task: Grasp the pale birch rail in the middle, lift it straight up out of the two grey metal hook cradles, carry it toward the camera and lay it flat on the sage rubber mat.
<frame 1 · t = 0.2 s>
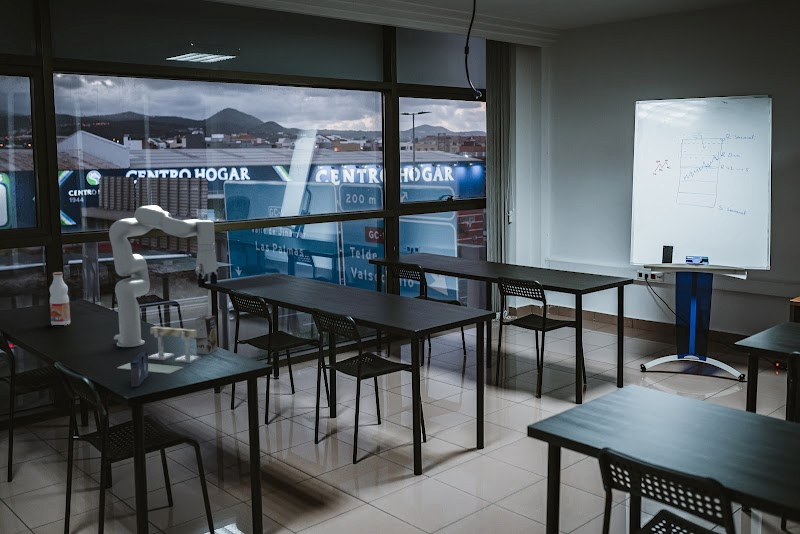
hand: (207, 285, 360), 31 cm above the table, fingers open, 9 cm apart
standard left: (161, 357, 356), on the table
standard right: (188, 359, 351), on the table
birch rail: (173, 335, 352), point 10 cm above the table, touching standard left, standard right
fruit juice: (60, 324, 427), on the table
coffee box: (207, 352, 366), on the table
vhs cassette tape: (140, 381, 319), on the table
sage mat: (150, 368, 338), on the table
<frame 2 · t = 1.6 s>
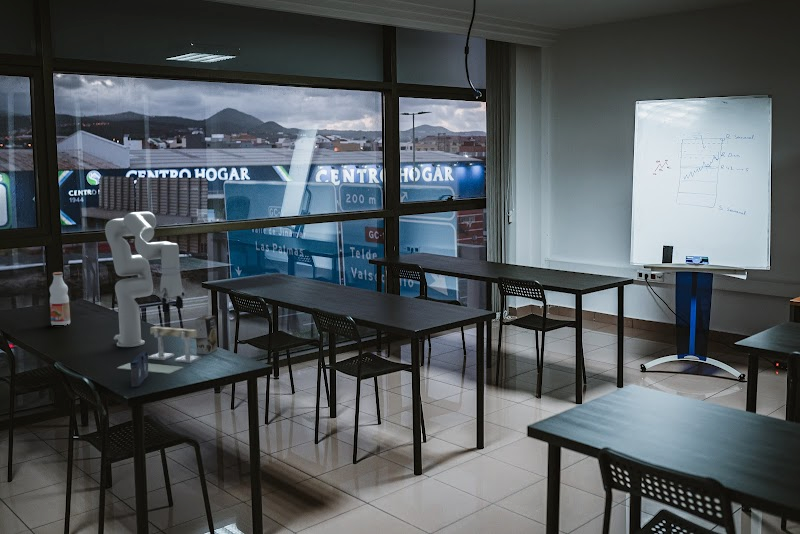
hand: (172, 310, 350), 22 cm above the table, fingers open, 9 cm apart
nothing on the table moved.
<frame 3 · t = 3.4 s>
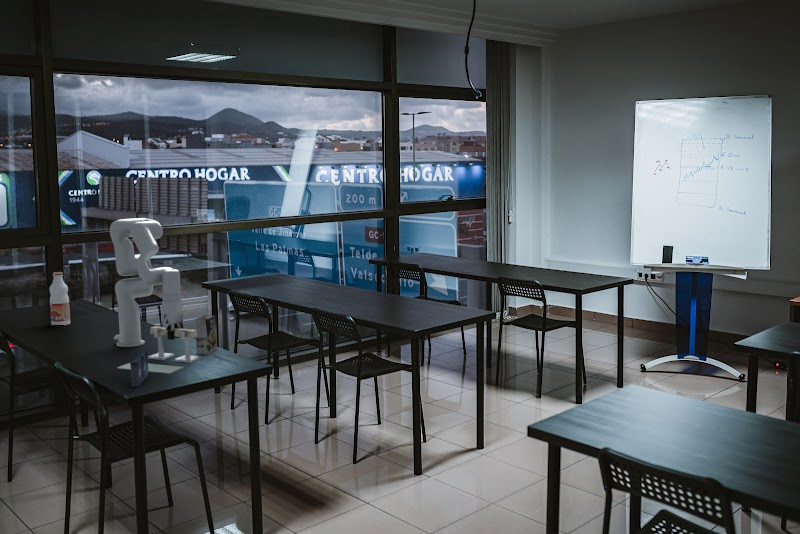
hand: (173, 338, 352), 9 cm above the table, fingers closed on birch rail, 3 cm apart
birch rail: (173, 335, 352), point 11 cm above the table, touching gripper, standard left
everything else where it was.
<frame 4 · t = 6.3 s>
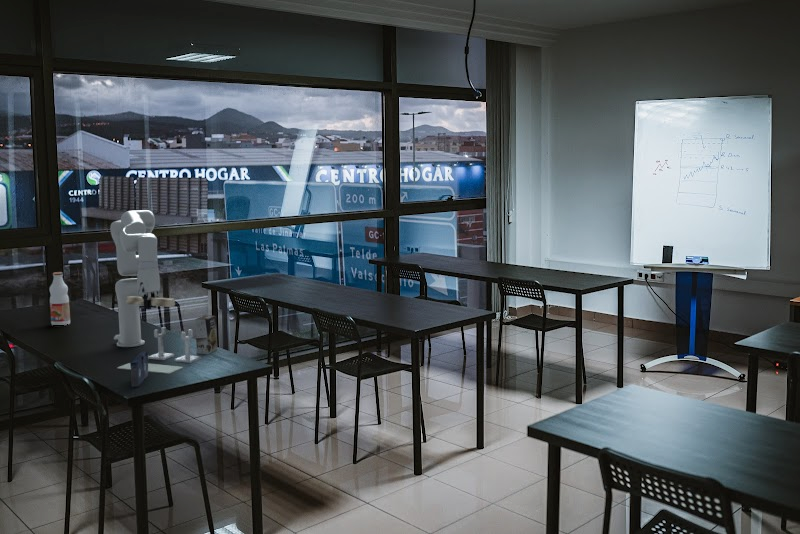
hand: (150, 307, 336), 26 cm above the table, fingers closed on birch rail, 3 cm apart
birch rail: (150, 304, 336), point 27 cm above the table, touching gripper
everything else where it was.
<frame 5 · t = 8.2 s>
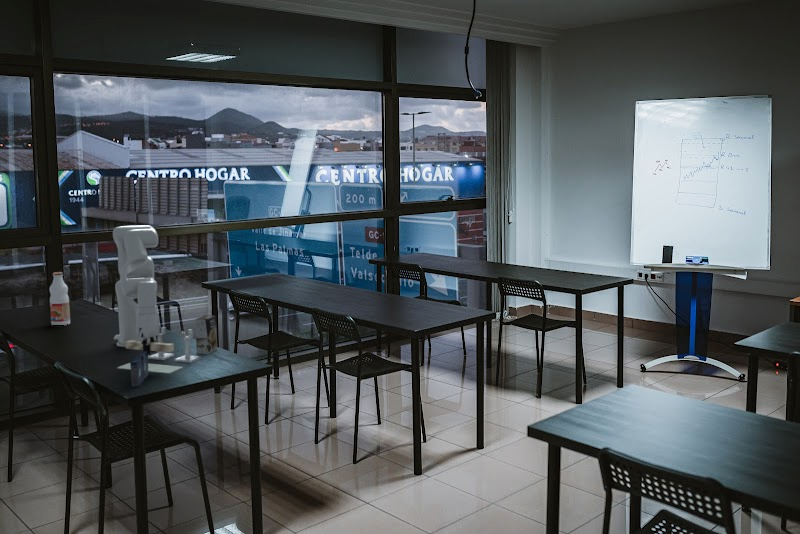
hand: (149, 352, 336), 7 cm above the table, fingers closed on birch rail, 3 cm apart
birch rail: (149, 349, 336), point 8 cm above the table, touching gripper
everything else where it was.
when the fingers open (2 cm above the table, at t = 9.5 s): birch rail drops 3 cm, resting on sage mat.
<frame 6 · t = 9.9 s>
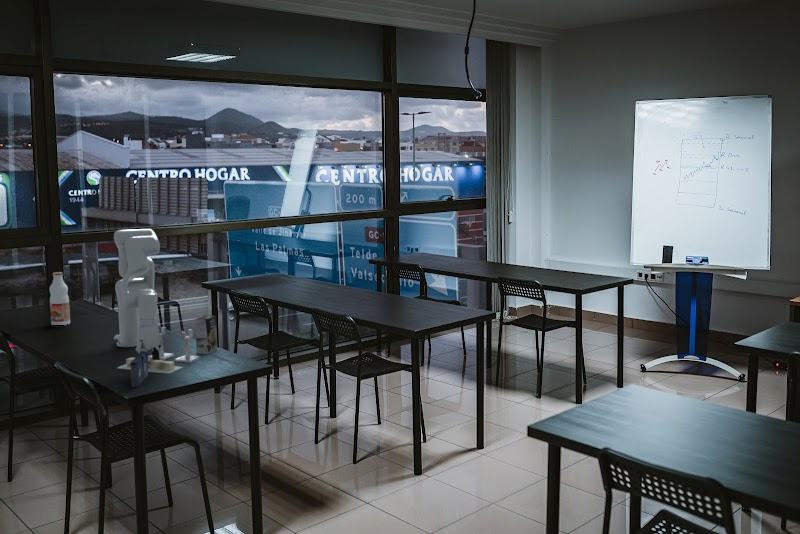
hand: (150, 362, 337), 2 cm above the table, fingers open, 7 cm apart
birch rail: (150, 367, 338), resting on sage mat
everything else where it was.
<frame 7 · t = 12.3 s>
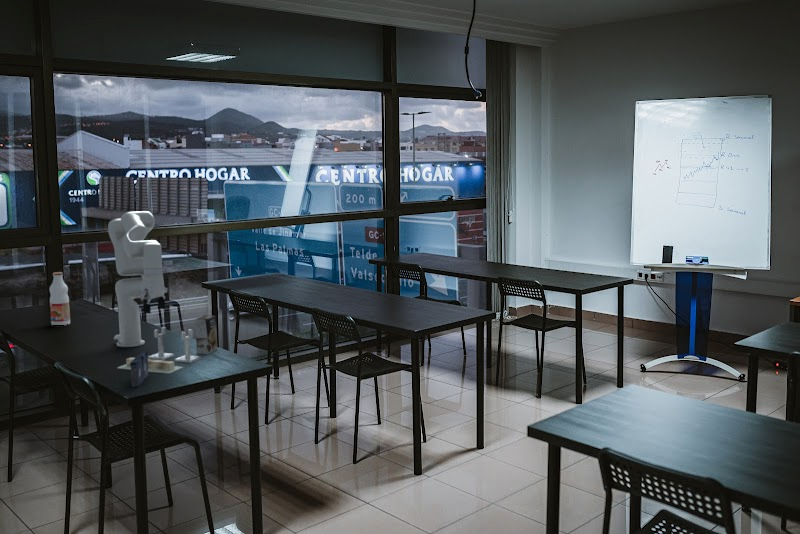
hand: (154, 310, 344), 23 cm above the table, fingers open, 9 cm apart
nothing on the table moved.
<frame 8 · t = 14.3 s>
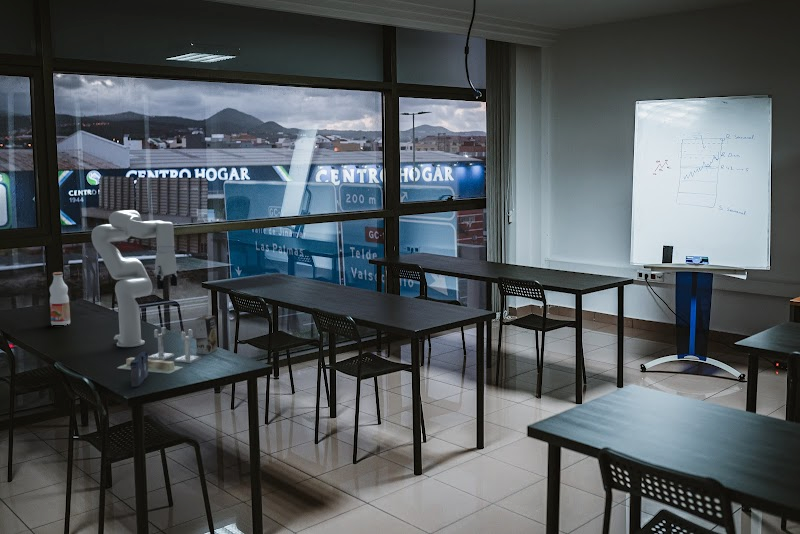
hand: (167, 287, 359), 30 cm above the table, fingers open, 9 cm apart
nothing on the table moved.
at the end: birch rail inside the target area (0.0 cm from its centre), resting on sage mat; birch rail tilted 0°; the gripper is holding nothing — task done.
